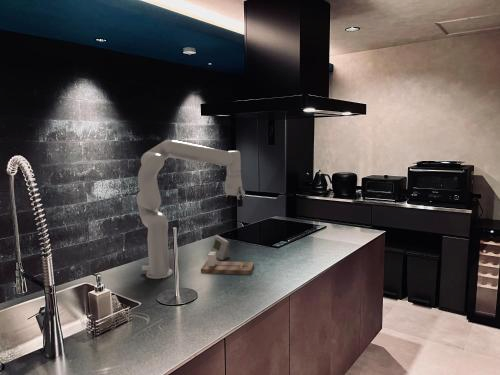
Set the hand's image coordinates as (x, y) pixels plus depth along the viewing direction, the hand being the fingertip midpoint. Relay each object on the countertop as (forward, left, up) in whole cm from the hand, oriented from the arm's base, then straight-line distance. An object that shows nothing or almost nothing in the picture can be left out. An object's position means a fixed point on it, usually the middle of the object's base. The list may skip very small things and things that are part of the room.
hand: (234, 205), depth 207 cm
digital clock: (-10, +3, -30) cm, 32 cm away
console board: (-1, -17, -30) cm, 34 cm away
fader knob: (-9, -17, -27) cm, 34 cm away
